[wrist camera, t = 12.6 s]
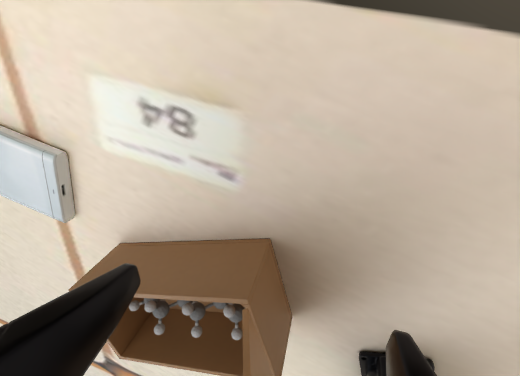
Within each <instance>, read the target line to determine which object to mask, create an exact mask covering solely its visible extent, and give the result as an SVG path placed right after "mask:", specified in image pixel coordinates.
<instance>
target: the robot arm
mask: <svg viewBox="0 0 520 376" xmlns="http://www.w3.org/2000/svg"><path fill="white" fill-rule="evenodd" d="M140 283H141V279H140V275H139V272H138V268H137V266H136V265H133V264H129V263H125V264H122V265H120V266H118V267H116V268H114V269H112V270H111V271H109V272H107V273H105V274H103V275H101V276H99V277H97V278H95V279H93V280H91V281H89V282H87V283H85V284H83V285H81V286H79V287H77V288H75V289H73V290H71V291H70V292H68V293H66V294H64V295H62V296H60V297H58V298H56V299H54V300H52V301H50V302H48V303H46V304H44V305H42V306H40V307H38V308H36V309H34V310H32V311H30V312H29V313H27V314H25V315H23V316H21V317H19V318H17V319H15V320H13V321H11V322H10V323H9V324H5V325H3V326H1V327H0V376H83V375H84V374H85V372H86V371H87V369H88V368H89V366H90V365H91V363H92V362H93V360H94V359H95V358H96V356H97V355H98V353H99V352H100V350H101V349H102V347H103V346H104V344H105V343H106V341H107V340H108V339H109V337H110V336H111V334H112V333H113V331H114V330H115V328H116V327H117V325H118V323H119V322H120V320H121V318H122V317H123V315H124V313H125V311H126V309H127V308H128V306H129V304H130V302H131V301H132V299H133V297H134V295H135V293H136V292H137V290H138V288H139V286H140ZM359 361H360V368H361V374H362V376H437V375H436V374H435V372H434V364H433V361H432V360H430V359H426V358H425V357H424V355H423V354H422V352H421V351H420V349H419V348H418V346H417V345H416V343H415V342H414V340H413V338H412V337H411V336H410V335H409V334H408V333H406V332H402V331H398V330H394V331H393V332H392V334H391V336H390V339H389V341H388V343H387V346H386V354H381V353H371V352H360V353H359Z"/></svg>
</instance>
